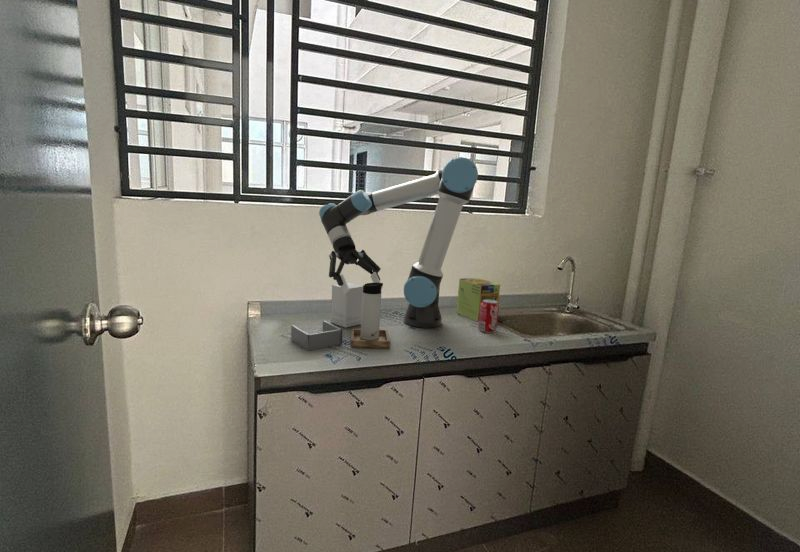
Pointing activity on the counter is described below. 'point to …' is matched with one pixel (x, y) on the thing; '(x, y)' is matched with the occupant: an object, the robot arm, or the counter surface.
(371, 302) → the travel mug
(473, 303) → the protein box
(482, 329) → the soda can
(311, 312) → the counter surface
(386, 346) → the tray
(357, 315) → the supplement box
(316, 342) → the bay
